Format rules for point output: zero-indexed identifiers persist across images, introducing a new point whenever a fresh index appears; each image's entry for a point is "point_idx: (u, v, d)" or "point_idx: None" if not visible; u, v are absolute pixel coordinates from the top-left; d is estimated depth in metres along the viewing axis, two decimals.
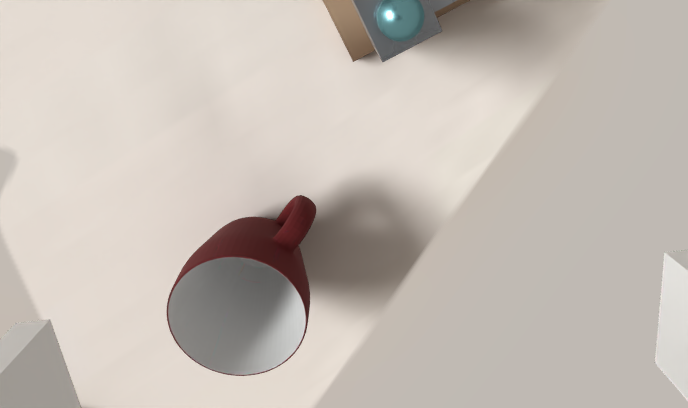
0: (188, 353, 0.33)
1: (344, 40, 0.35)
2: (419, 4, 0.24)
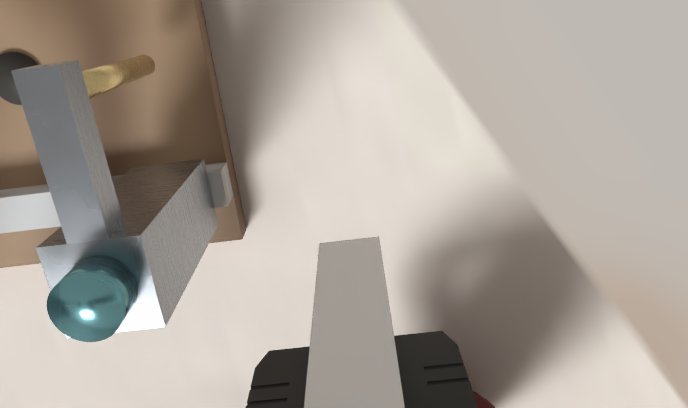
0: None
1: (212, 240, 0.26)
2: (70, 280, 0.15)
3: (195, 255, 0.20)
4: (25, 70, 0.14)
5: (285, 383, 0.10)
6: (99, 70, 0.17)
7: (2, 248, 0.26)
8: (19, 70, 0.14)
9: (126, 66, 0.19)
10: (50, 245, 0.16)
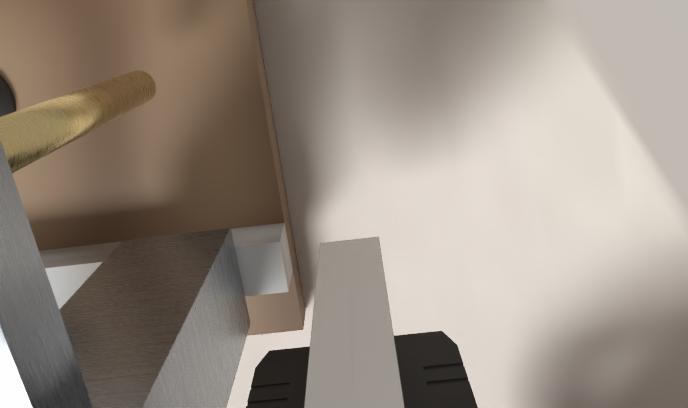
0: None
1: (260, 331, 0.18)
2: None
3: (220, 403, 0.12)
4: None
5: (285, 383, 0.10)
6: (48, 108, 0.09)
7: None
8: None
9: (104, 95, 0.11)
10: None
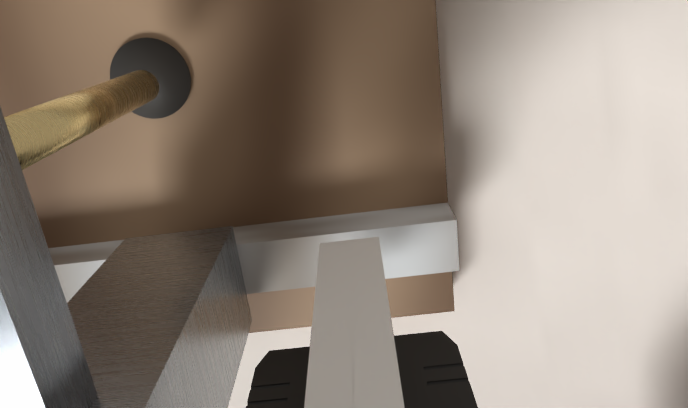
0: None
1: (411, 313, 0.18)
2: None
3: (223, 398, 0.13)
4: None
5: (285, 383, 0.10)
6: (55, 107, 0.09)
7: None
8: None
9: (109, 93, 0.11)
10: None
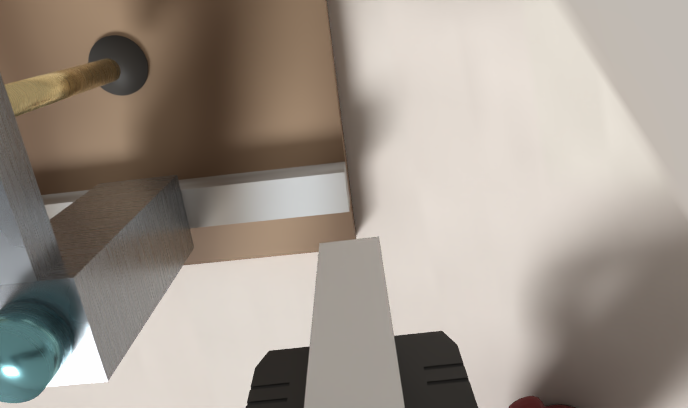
0: None
1: None
2: None
3: (158, 288, 0.18)
4: None
5: (285, 383, 0.10)
6: (38, 80, 0.15)
7: None
8: None
9: (78, 73, 0.17)
10: None
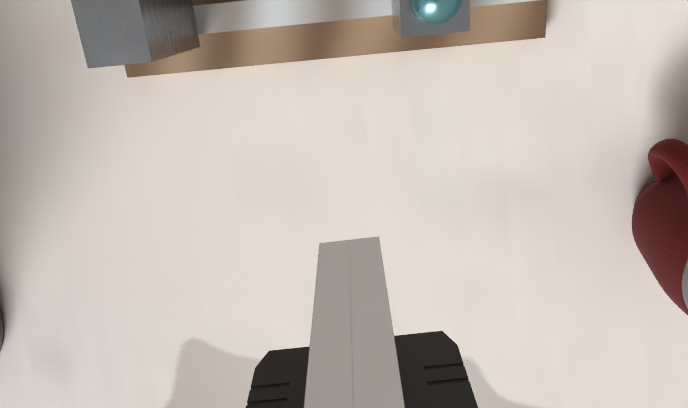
0: None
1: (521, 38, 0.34)
2: None
3: None
4: None
5: (285, 383, 0.10)
6: None
7: (357, 39, 0.34)
8: None
9: None
10: None
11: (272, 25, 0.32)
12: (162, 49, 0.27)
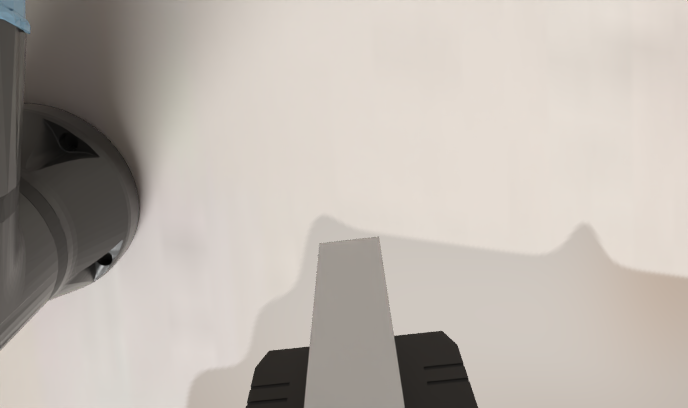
0: None
1: None
2: None
3: None
4: None
5: (285, 383, 0.10)
6: None
7: None
8: None
9: None
10: None
11: None
12: None
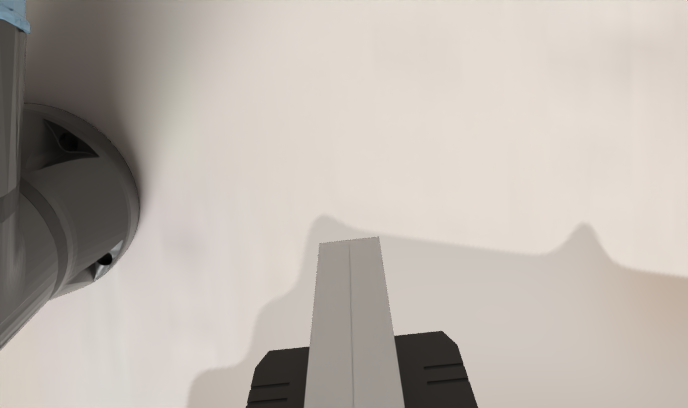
0: None
1: None
2: None
3: None
4: None
5: (285, 383, 0.10)
6: None
7: None
8: None
9: None
10: None
11: None
12: None
